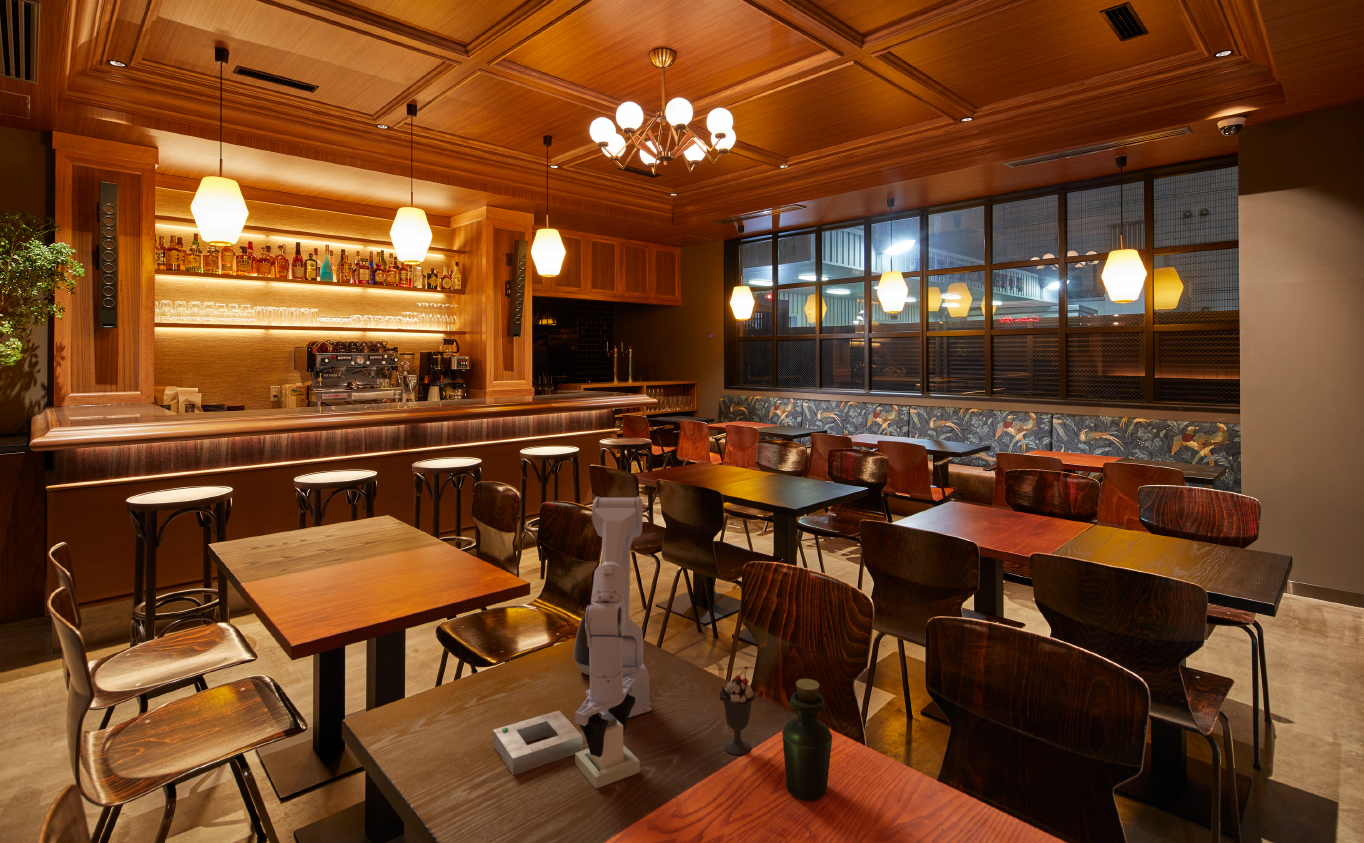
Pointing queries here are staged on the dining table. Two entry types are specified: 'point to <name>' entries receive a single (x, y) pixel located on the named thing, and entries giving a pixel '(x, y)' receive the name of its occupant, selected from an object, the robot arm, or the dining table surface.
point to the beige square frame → (610, 774)
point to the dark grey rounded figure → (582, 648)
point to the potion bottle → (807, 744)
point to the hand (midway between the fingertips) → (607, 745)
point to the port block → (527, 757)
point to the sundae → (737, 712)
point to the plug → (610, 744)
